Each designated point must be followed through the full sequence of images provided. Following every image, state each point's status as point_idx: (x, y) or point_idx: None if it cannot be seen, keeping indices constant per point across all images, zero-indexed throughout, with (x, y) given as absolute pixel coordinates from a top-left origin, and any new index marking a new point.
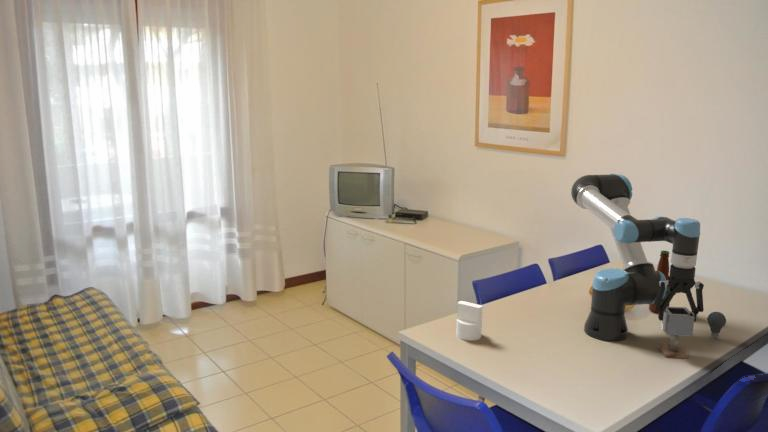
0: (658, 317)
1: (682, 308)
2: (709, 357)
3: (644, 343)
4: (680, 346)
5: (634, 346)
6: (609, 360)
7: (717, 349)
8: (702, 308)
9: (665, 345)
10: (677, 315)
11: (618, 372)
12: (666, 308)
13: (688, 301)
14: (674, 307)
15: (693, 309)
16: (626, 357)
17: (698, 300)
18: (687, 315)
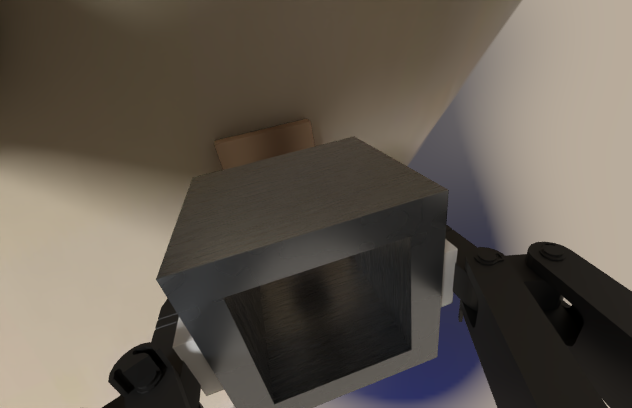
0: (164, 315)
1: (397, 240)
2: (399, 157)
3: (134, 99)
4: (309, 124)
5: (91, 160)
6: (32, 335)
7: (454, 59)
8: (558, 316)
9: (242, 138)
10: (315, 404)
11: (100, 386)
12: (222, 322)
13: (511, 357)
14: (316, 250)
15: (475, 333)
16: (91, 285)
17: (626, 404)
18: (389, 372)
